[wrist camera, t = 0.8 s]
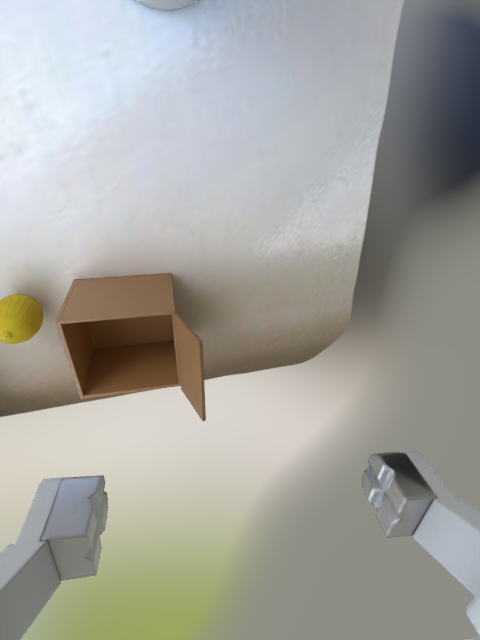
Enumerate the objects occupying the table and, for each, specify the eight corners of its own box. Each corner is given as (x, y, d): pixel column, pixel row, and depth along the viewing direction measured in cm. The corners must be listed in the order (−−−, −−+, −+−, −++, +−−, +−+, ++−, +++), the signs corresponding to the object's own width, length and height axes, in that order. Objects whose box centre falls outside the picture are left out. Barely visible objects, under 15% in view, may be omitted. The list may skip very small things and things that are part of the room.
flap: (199, 343, 34) (202, 341, 34) (174, 314, 38) (177, 313, 38) (202, 421, 40) (205, 420, 40) (181, 389, 45) (184, 388, 45)
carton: (73, 279, 45) (55, 321, 36) (171, 273, 47) (175, 310, 39) (92, 349, 51) (80, 399, 43) (177, 340, 54) (182, 385, 45)
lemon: (4, 317, 46) (-21, 353, 39) (1, 281, 43) (-26, 313, 36) (49, 322, 47) (33, 357, 41) (49, 287, 45) (32, 319, 38)
